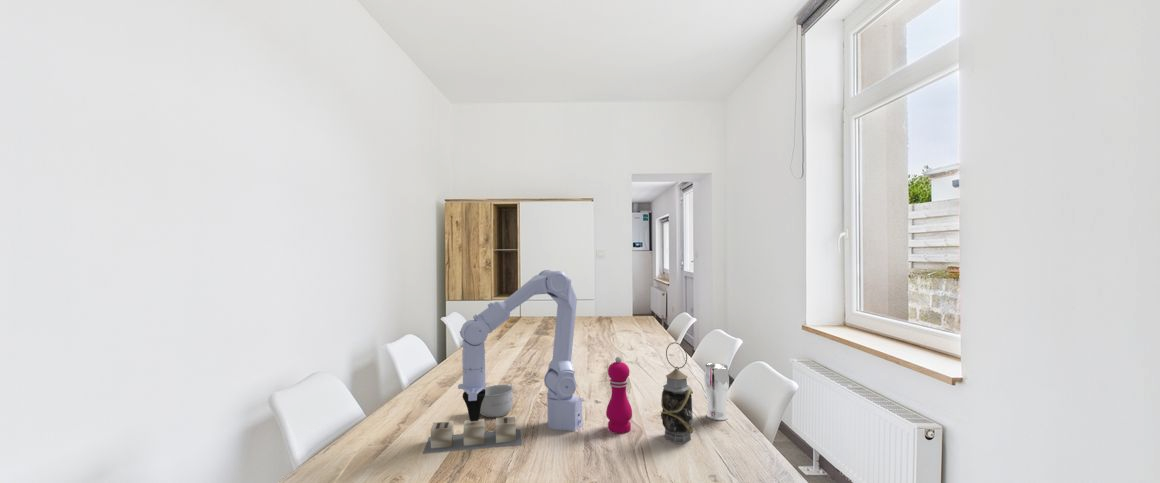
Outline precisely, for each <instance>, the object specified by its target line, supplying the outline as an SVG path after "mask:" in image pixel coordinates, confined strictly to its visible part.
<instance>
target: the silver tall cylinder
mask: <svg viewBox="0 0 1160 483" xmlns="http://www.w3.org/2000/svg"><path fill="white" fill-rule="evenodd" d="M703 378H704V380H703V381H704V388H705V393H706V394H705V395H706V399H707V409H706V417H707V418H708V419H710V420H712V419H713V421H726V420H727V419H728V418H729V415H728V410H727V401H728V394H729V386H730V376H729V367H728V365H727V364H724V363H718V362H710V363H709V362H708V363H706V364H704V377H703Z"/></svg>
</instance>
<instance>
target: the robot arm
mask: <svg viewBox="0 0 1160 483" xmlns="http://www.w3.org/2000/svg"><path fill="white" fill-rule="evenodd" d="M537 295H548V296H550V297H551V299H552V300H553V301H555V303H556V304H557V307H556V319H555V330H554V338H553V340H554V341H553V350H552V359H551V361H550V362H549V363H548V368H547V371H546V373H545V375H544V377H543V382H544V386H545V387H546V388H547V393H546V397H547V400H546V401H547V405H546V406H547V407H546V408H547V409H546V410H547V427H548V428H550V429H552V430H558V431H571V432H576V431H577V430H578V429H580V428H581V427H583V425H584V421H583V401H582V398H581V397H578V396H575V395H574V394H575V392H576V389H577V380H576V378H575V373H576V371H575V369H574V365H573V364H572V357H573V356H572V355H573V345H574V336H575V333H574V332H575V326H576V325H575V323H576V312H577V301H578V300H577V299H578V298H577V296H576V293H575V290H574V289H573V286H572V279H571V278H570V277H569V276H567V274H566V273H565V272H563V271H560V270H557V271H554V270H549V269H544V270H542V271H540V272H539V273H538V274H536V275H534V276H533V277H532V278H530V279H529V280H528V281H526V282H525V283H524V284H523V285H522V286H520V287H519V288H518V289H517V290H516V291H514V292H513V293H512V294H510V296H509V297H507V298H506V299H505V300H504V301H494V303H493V302H489V303H488V304H487V308H485V309H484V310H483V311H481V312H480V313H479V314H474V315H473V317H472V318H473V319H469V320H467V321H466V322H463V324H462V326H461V327H460V330H459V336H460V337H461V338H462V339H463V340H462V349H461V350H462V358H461V359H462V361H461V362H462V383H460V384H458V385H457V389H459V390H463V393H462V399H463V401H464V403H465V405H466V408H467V413H468V417H469V420H470V421H478V420H479V419H480V415H481V414H480V409H481V404H482V401H483V399H484V397H485V389H484V388H485V387H487V382H486V349H485V348H486V347H485V341H487V338H488V335H489V334H491V333H493V331H496V329H497V328H498V327H500V326H501V325H502V324H504V323H505V322H507V320H509V319H510V317H511V316H510V315H511V312H512V311H513V310H515V309H517V307H520V306H521V305H522V304H523V303H525V302H527V301H528V300H530V299H531V298H532V297H533V296H537Z"/></svg>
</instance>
